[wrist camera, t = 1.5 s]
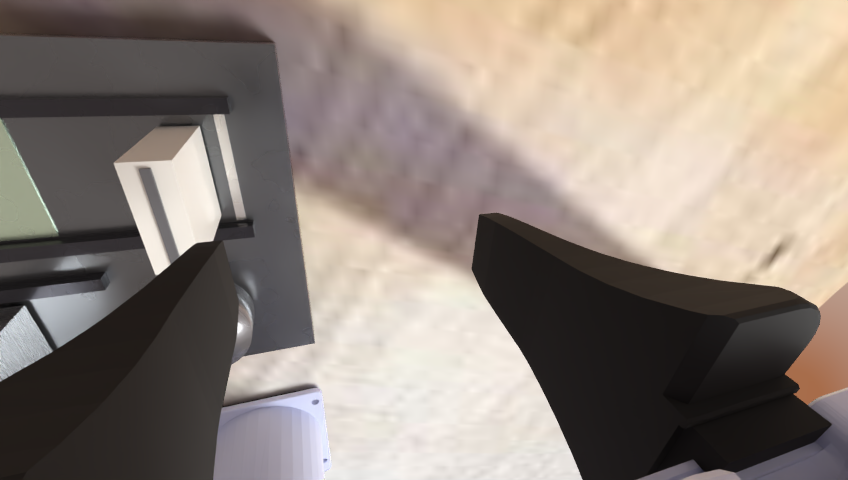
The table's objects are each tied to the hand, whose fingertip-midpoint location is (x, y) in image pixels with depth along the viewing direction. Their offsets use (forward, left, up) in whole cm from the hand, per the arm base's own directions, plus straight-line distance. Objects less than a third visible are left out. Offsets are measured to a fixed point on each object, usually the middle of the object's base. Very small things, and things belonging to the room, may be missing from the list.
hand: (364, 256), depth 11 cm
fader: (0, +6, -8) cm, 10 cm away
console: (-3, +10, -10) cm, 14 cm away
